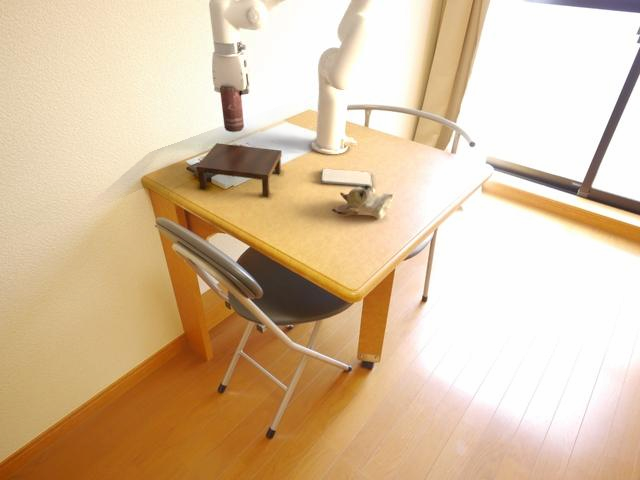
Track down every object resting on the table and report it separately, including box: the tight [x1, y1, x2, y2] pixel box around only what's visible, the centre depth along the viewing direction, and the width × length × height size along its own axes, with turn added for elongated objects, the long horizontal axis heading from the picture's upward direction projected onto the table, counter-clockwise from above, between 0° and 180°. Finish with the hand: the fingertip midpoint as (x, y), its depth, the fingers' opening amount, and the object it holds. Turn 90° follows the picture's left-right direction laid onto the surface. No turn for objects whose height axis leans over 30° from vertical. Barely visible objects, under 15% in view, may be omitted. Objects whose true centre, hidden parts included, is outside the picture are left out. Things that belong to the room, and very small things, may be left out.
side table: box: [195, 142, 282, 198], centre depth 117 cm, size 20×16×7 cm
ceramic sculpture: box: [330, 185, 394, 221], centre depth 106 cm, size 11×9×15 cm
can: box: [219, 85, 245, 133], centre depth 125 cm, size 6×6×14 cm
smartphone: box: [320, 168, 373, 187], centre depth 123 cm, size 8×1×15 cm
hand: (234, 111), depth 126 cm, fingers closed
